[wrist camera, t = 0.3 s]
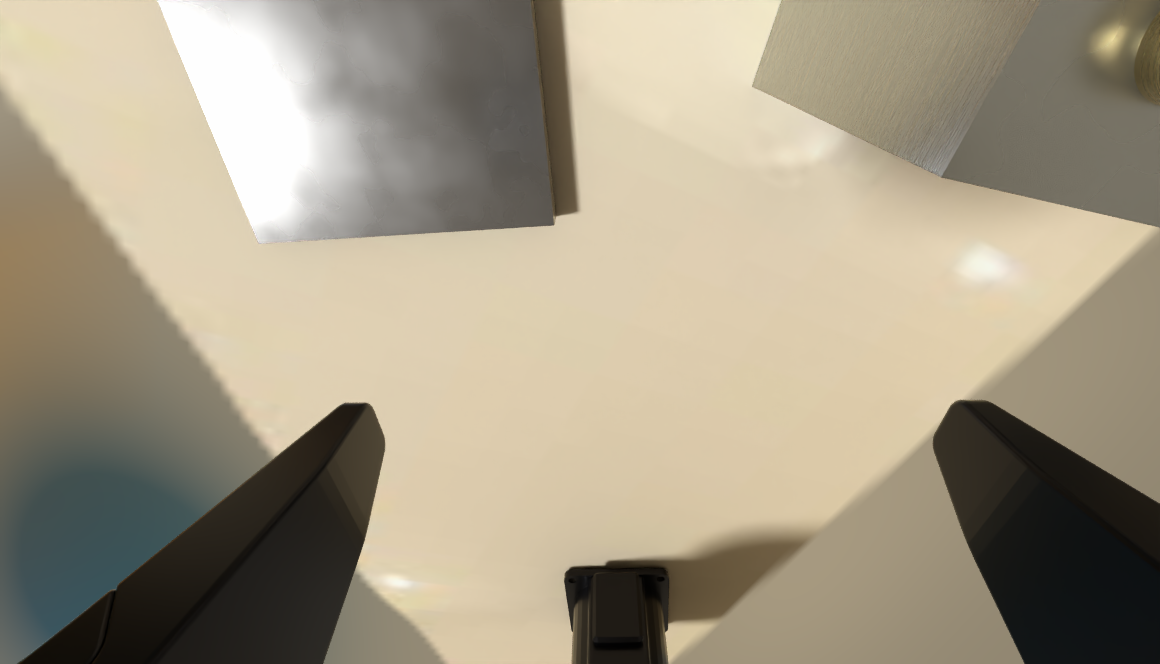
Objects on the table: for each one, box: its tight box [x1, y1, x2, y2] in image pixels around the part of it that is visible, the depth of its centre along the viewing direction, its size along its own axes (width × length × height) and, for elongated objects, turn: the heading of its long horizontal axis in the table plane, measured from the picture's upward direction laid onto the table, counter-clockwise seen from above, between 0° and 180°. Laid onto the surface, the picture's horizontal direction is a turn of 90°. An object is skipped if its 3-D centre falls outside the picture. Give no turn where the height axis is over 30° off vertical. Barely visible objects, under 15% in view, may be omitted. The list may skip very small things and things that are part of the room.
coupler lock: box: [752, 0, 1160, 227], centre depth 12 cm, size 6×5×13 cm
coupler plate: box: [157, 0, 556, 244], centre depth 17 cm, size 12×12×4 cm
